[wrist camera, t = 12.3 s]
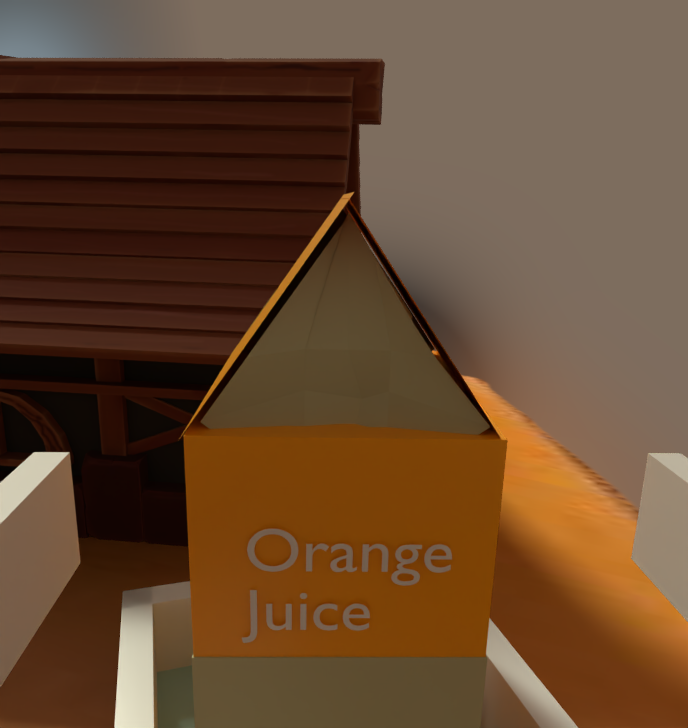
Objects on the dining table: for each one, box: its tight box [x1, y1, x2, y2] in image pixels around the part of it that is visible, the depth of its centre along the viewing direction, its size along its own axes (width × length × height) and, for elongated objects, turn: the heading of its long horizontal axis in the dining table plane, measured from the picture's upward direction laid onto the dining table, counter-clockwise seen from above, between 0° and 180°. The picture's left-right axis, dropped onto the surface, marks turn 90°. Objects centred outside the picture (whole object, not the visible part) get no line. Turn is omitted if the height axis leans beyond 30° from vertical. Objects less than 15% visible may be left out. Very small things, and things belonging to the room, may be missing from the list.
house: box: [0, 55, 385, 546], centre depth 43 cm, size 35×28×29 cm
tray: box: [114, 581, 578, 728], centre depth 22 cm, size 14×14×4 cm
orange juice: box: [181, 192, 507, 728], centre depth 20 cm, size 8×9×20 cm
